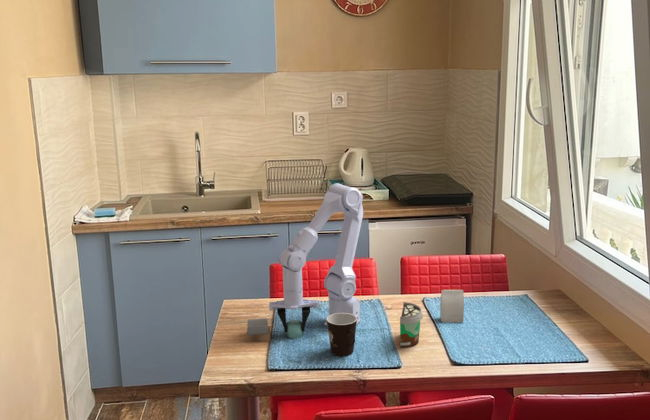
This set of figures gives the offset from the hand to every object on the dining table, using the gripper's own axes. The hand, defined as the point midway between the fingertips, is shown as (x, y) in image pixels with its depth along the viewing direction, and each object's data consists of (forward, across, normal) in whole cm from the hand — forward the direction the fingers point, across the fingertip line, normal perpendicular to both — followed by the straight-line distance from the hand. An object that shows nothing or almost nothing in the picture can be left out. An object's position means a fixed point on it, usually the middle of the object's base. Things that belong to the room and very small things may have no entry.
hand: (294, 330), depth 196 cm
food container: (+2, +34, -8) cm, 35 cm away
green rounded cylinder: (+1, 0, 0) cm, 1 cm away
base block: (+2, -11, 0) cm, 11 cm away
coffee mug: (+2, +13, -14) cm, 19 cm away
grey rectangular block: (+2, +50, +6) cm, 50 cm away
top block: (0, -11, 0) cm, 11 cm away
